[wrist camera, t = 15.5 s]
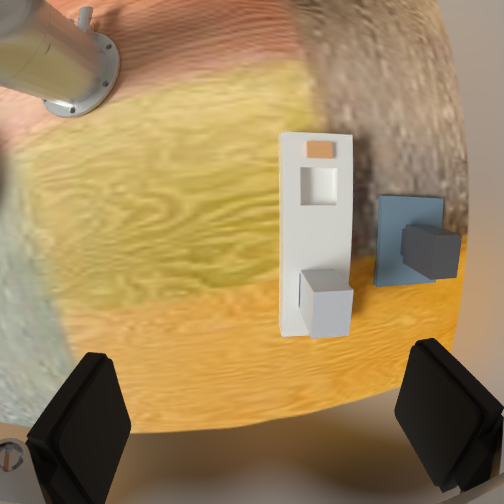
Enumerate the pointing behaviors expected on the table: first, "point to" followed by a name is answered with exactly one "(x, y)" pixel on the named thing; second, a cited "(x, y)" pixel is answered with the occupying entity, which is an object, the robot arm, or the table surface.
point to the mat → (390, 235)
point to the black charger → (431, 251)
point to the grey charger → (325, 303)
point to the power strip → (312, 214)
